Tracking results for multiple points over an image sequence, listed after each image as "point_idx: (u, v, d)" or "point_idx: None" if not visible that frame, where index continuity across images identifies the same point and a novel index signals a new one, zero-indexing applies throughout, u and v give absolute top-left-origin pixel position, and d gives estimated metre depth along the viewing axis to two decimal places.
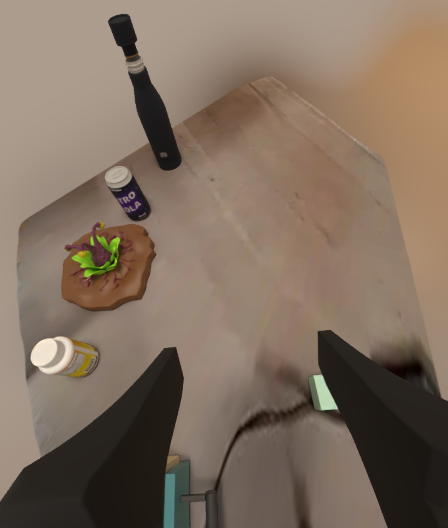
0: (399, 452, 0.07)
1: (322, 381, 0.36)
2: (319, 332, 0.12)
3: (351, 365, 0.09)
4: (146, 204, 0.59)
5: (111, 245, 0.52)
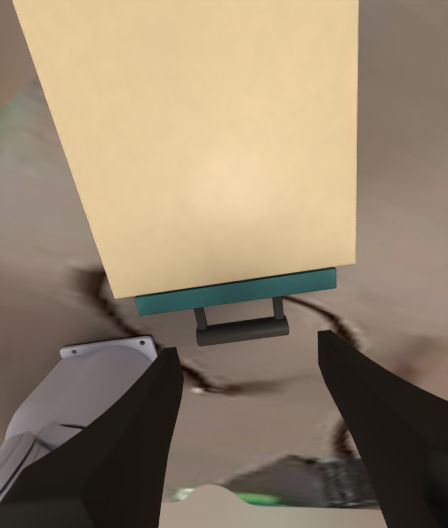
0: (399, 452, 0.07)
1: None
2: (319, 332, 0.12)
3: (351, 365, 0.09)
4: None
5: None
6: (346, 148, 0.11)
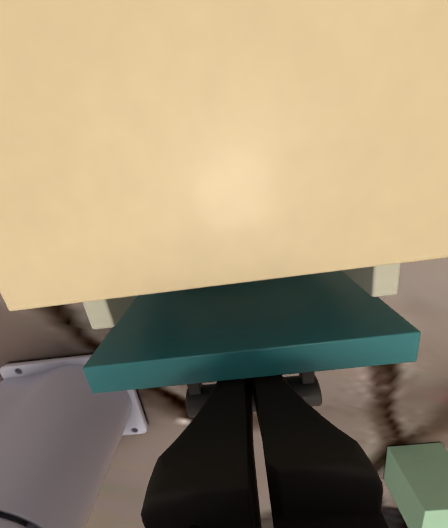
0: None
1: None
2: None
3: None
4: None
5: None
6: None
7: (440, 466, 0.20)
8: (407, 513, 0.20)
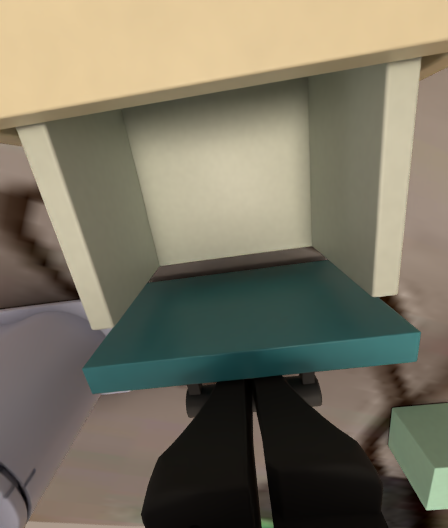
0: None
1: None
2: None
3: None
4: None
5: None
6: None
7: None
8: (414, 476, 0.18)
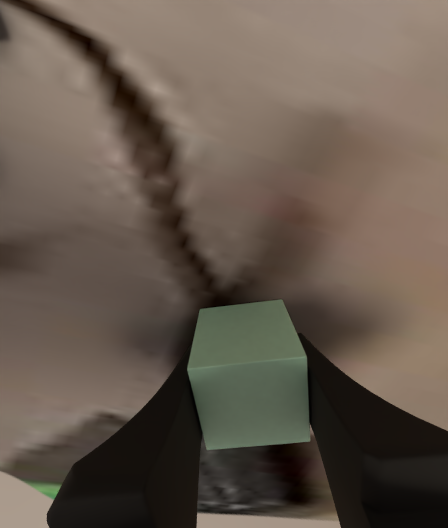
0: (344, 456, 0.07)
1: (284, 382, 0.09)
2: None
3: (312, 369, 0.09)
4: None
5: None
6: None
7: (260, 320, 0.11)
8: None
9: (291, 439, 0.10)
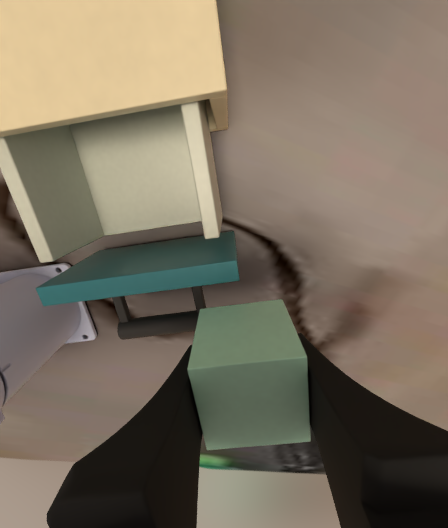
0: (344, 456, 0.07)
1: (284, 382, 0.09)
2: None
3: (312, 369, 0.09)
4: None
5: None
6: None
7: (260, 320, 0.11)
8: None
9: (291, 439, 0.10)
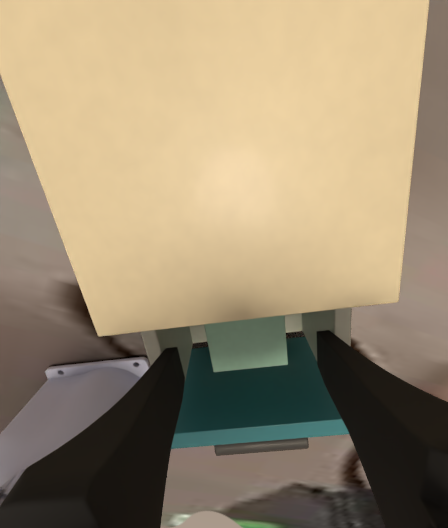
0: (397, 452, 0.07)
1: (268, 317, 0.13)
2: (317, 332, 0.12)
3: (349, 365, 0.09)
4: None
5: None
6: (398, 159, 0.08)
7: None
8: None
9: (274, 362, 0.14)
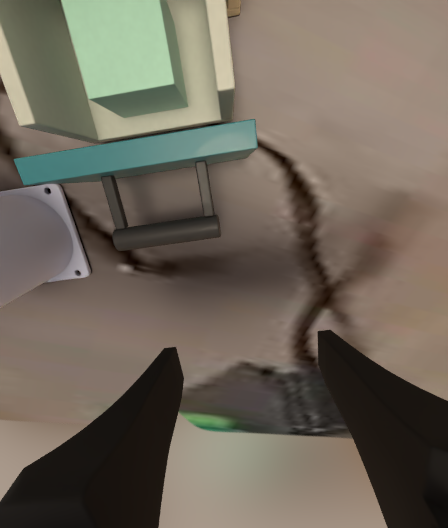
0: (399, 452, 0.07)
1: None
2: (319, 332, 0.12)
3: (351, 365, 0.09)
4: None
5: None
6: None
7: None
8: None
9: (157, 80, 0.12)
